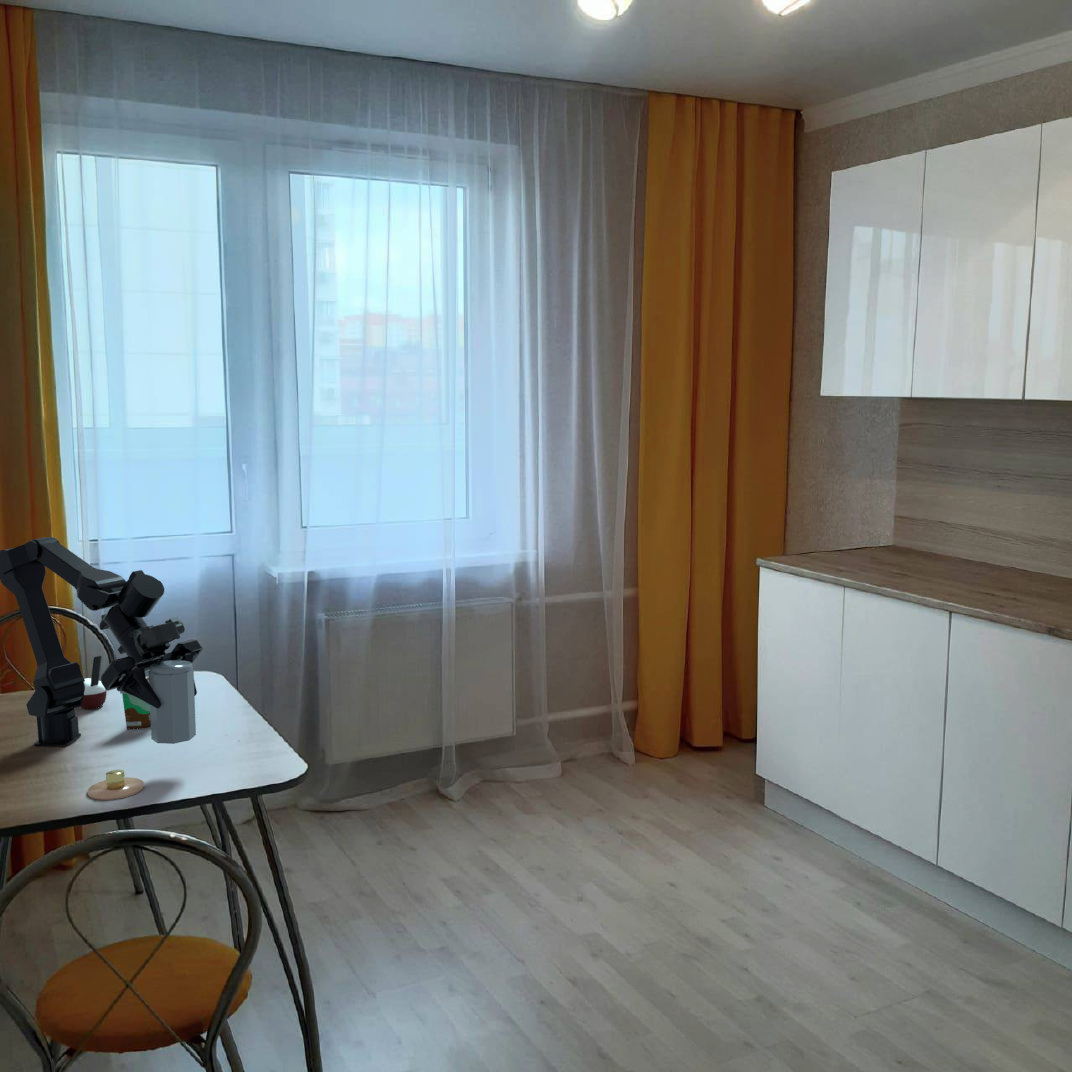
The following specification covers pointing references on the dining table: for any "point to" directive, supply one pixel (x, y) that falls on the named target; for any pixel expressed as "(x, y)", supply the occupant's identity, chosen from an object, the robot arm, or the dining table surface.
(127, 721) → the food container
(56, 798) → the dining table surface
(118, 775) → the cylinder
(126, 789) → the terracotta coaster
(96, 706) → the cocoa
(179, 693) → the blue-gray container
